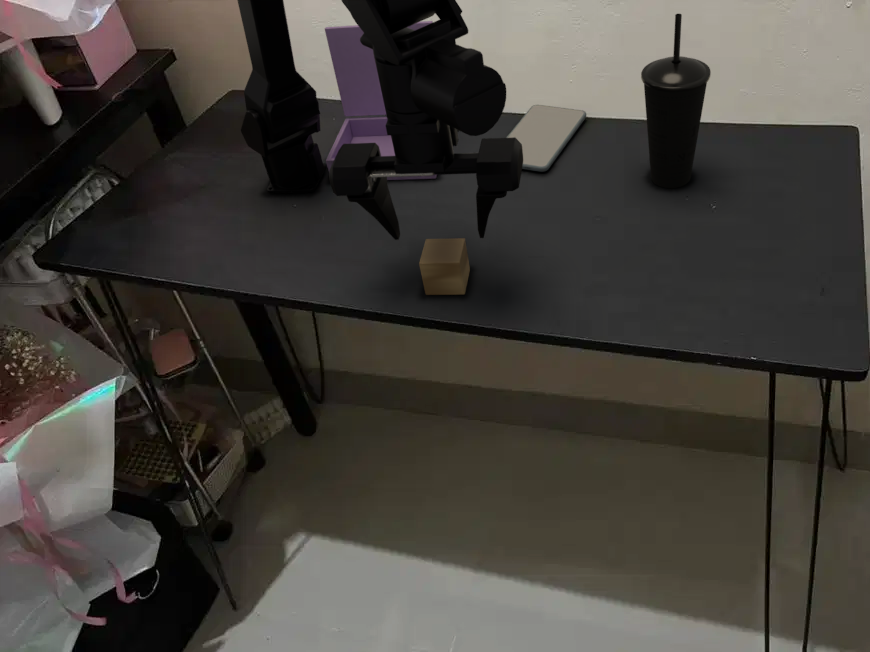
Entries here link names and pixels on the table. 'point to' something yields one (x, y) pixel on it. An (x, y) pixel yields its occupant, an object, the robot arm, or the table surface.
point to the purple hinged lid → (357, 70)
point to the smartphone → (545, 134)
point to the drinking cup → (674, 113)
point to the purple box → (367, 139)
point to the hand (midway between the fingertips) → (439, 236)
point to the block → (445, 266)
